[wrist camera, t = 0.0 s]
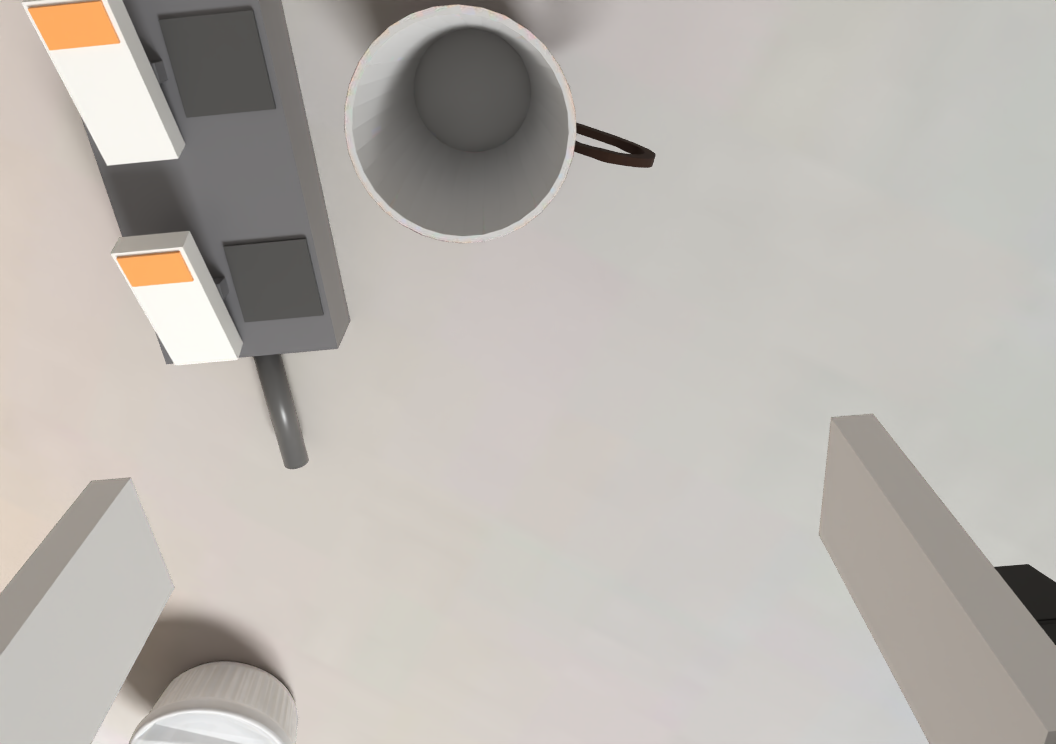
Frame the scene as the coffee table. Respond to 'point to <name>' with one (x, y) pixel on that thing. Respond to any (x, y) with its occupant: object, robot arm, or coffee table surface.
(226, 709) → the ramekin
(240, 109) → the power strip
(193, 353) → the block
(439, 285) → the coffee table surface
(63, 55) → the rocker
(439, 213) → the coffee mug
